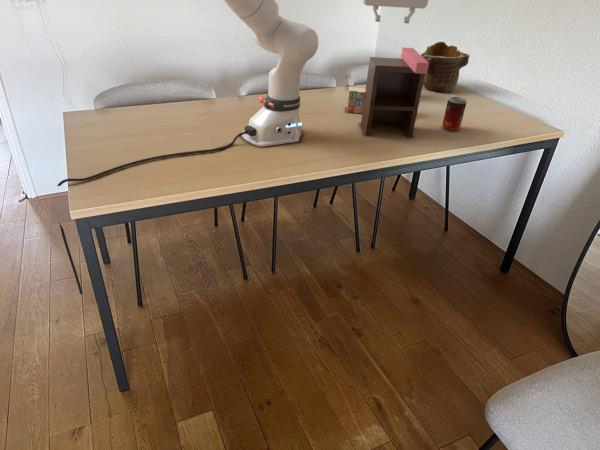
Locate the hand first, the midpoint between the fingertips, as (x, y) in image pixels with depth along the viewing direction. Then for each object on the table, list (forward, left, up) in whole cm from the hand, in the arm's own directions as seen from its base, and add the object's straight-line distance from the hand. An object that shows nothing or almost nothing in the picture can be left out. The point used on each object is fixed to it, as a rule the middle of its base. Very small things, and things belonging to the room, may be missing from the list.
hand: (391, 22), depth 144 cm
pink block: (+14, -1, -15) cm, 20 cm away
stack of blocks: (+22, +23, -41) cm, 52 cm away
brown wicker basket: (+76, +32, -41) cm, 92 cm away
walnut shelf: (+12, +5, -41) cm, 43 cm away
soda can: (+37, -7, -41) cm, 55 cm away
